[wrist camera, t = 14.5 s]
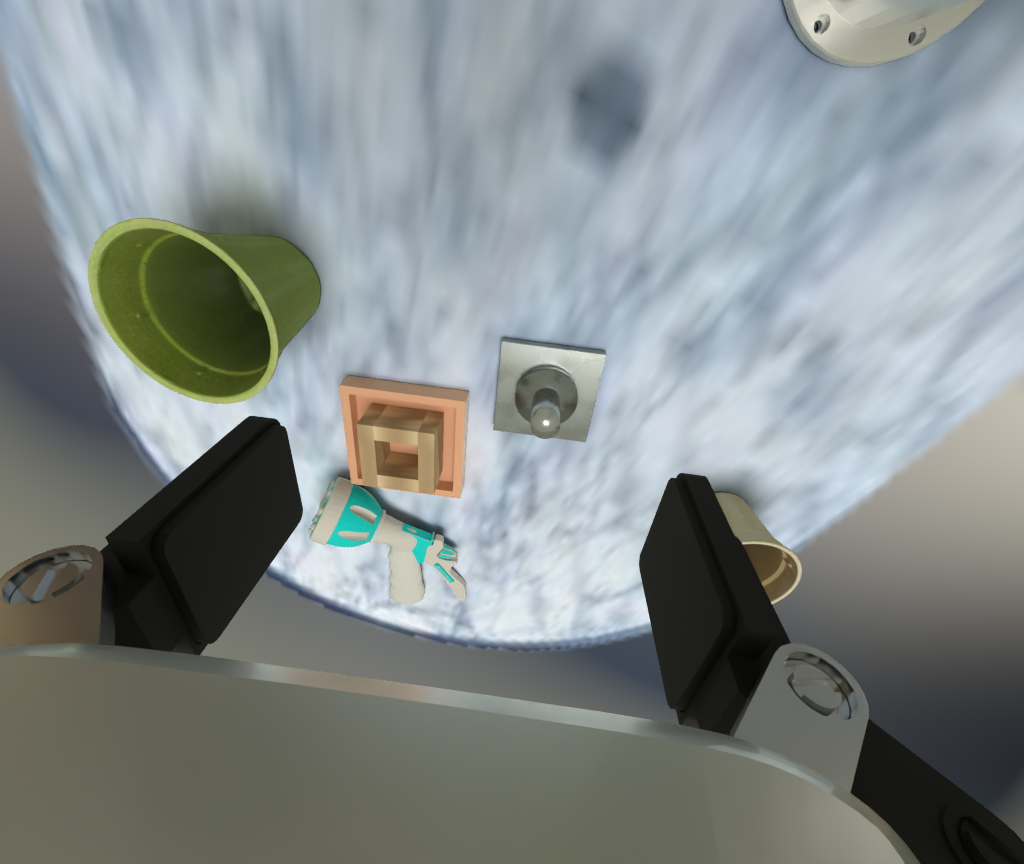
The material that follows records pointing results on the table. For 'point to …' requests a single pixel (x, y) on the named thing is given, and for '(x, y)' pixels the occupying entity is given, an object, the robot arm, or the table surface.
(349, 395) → the terracotta tray
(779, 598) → the flower pot
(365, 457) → the wooden ring
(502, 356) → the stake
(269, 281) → the plant pot
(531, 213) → the table surface
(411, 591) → the garden hose nozzle
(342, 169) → the table surface
